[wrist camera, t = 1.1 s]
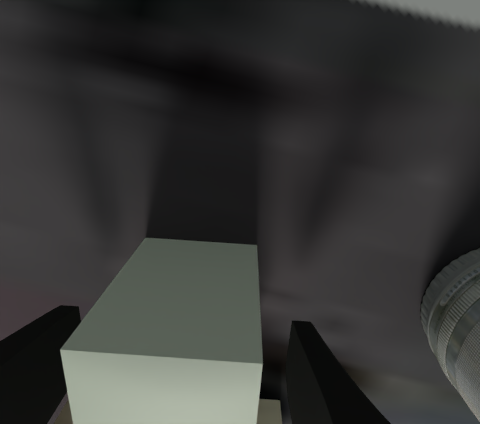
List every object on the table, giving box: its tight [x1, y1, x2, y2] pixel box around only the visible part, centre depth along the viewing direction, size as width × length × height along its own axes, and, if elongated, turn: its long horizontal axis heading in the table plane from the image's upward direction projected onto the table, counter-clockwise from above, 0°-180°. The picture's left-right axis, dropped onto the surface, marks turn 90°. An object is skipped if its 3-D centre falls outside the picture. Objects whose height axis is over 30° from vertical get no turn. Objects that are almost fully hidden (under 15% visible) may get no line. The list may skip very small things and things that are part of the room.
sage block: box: [60, 238, 263, 424], centre depth 10 cm, size 4×4×6 cm
